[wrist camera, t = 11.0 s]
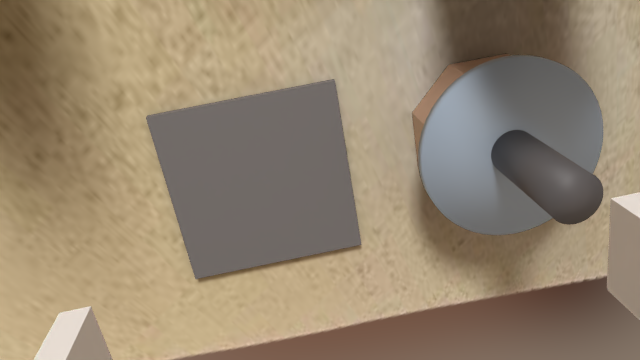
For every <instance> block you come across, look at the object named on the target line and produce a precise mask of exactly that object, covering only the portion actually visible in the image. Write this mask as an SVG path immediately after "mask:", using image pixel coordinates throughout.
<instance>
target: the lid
mask: <svg viewBox="0 0 640 360" xmlns="http://www.w3.org/2000/svg"><path fill="white" fill-rule="evenodd" d="M602 142H603V120H602V114H601V110H600V107H599V104H598V101H597V99H596V97H595V95H594V93H593V91H592V90H591V88H590V87H589V85H588V84H587V83H586V82H585V81H584V80H583V79H582V78H581V77H580V76H579V75H578V74H577V73H576V72H574V71H573V70H571V69H570V68H568V67H566V66H564V65H562V64H560V63H558V62H555V61H552V60H549V59H546V58H542V57H538V56H532V55H511V56H504V57H500V58H496V59H492V60H490V61H487V62H485V63H482V64H480V65H478V66H476V67H474V68H472V69H471V70H469V71H467V72H466V73H464V74H463V75H462V76H460V77H459V78H457V79H456V80H455V81H454V82H453V83H452V84H451V85H450V86H449V87H448V88H447V89H446V90H445V91H444V92H443V93H442V95H441V96H440V97H439V98H438V100H437V101H436V103H435V104H434V106H433V107H432V109H431V111H430V113H429V115H428V116H427V118H426V121H425V123H424V126H423V129H422V132H421V136H420V141H419V148H418V166H419V172H420V177H421V180H422V183H423V186H424V188H425V190H426V192H427V194H428V196H429V197H430V198H431V200H432V201H433V203H434V204H435V205H436V207H437V208H438V209H439V210H440V212H441V213H442V214H443V215H444V216H445V217H447V218H448V219H449V220H450V221H452V222H453V223H455V224H456V225H458V226H460V227H462V228H464V229H467V230H469V231H472V232H476V233H480V234H487V235H507V234H514V233H519V232H522V231H526V230H529V229H532V228H534V227H537V226H539V225H541V224H543V223H545V222H547V221H549V220H550V219H552V218H554V219H555V220H556V221H558V222H560V223H563V224H576V223H580V222H582V221H584V220H586V219H588V218H589V217H590V216H592V215H593V214H594V213H595V211H596V210H597V209H598V207H599V206H600V204H601V201H602V198H603V186H602V184H601V182H600V180H599V179H598V178H597V177H596V176H594V175H593V172H594V170H595V168H596V165H597V162H598V159H599V157H600V152H601V148H602Z"/></svg>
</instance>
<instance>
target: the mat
mask: <svg viewBox="0 0 640 360" xmlns="http://www.w3.org/2000/svg"><path fill="white" fill-rule="evenodd" d="M146 119H147V123H148V126H149V129H150V132H151V136H152V139H153V142H154V145H155V149H156V152H157V155H158V158H159V162H160V165H161V168H162V171H163V175H164V178H165V181H166V184H167V188H168V191H169V194H170V197H171V201H172V204H173V207H174V210H175V214H176V217H177V220H178V223H179V227H180V230H181V233H182V236H183V240H184V243H185V246H186V249H187V253H188V256H189V259H190V262H191V266H192V269H193V272H194V275H195V279H198V278H203V277H208V276H213V275H217V274H222V273H227V272H232V271H237V270H242V269H246V268H251V267H256V266H261V265H266V264H270V263H275V262H280V261H285V260H290V259H295V258H299V257H304V256H309V255H314V254H319V253H324V252H328V251H333V250H338V249H343V248H348V247H353V246H357V245H361V239H360V233H359V227H358V221H357V215H356V208H355V202H354V196H353V190H352V184H351V177H350V171H349V165H348V159H347V153H346V147H345V140H344V134H343V128H342V122H341V116H340V109H339V103H338V97H337V91H336V85H335V80H334V79H332V80H327V81H322V82H317V83H312V84H307V85H302V86H296V87H291V88H286V89H281V90H276V91H271V92H266V93H261V94H256V95H250V96H245V97H240V98H235V99H230V100H225V101H220V102H215V103H209V104H204V105H199V106H194V107H189V108H184V109H179V110H174V111H169V112H163V113H158V114H153V115H148V116H147V117H146Z"/></svg>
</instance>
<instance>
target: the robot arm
mask: <svg viewBox="0 0 640 360" xmlns="http://www.w3.org/2000/svg"><path fill="white" fill-rule="evenodd" d="M607 290H608V291H609V292H610V293H611V294H612V295H613V296H615V297H616V298H617V299H618V300H619V301H620V302H621V303H622V304H623V305H624V306H625V307H626V308H627V309H628V310H629V311H630V312H632V314H634V315H635V316H636V317H637V318H638V319H639V320H640V192H639V193H635V194H630V195H625V196H620V197H615V198H611V203H610V227H609V250H608V273H607ZM34 360H113V359H112V357H111V354H110V352H109V350H108V347H107V345H106V342H105V340H104V337H103V335H102V332H101V330H100V327H99V325H98V322H97V320H96V318H95V315H94V313H93V310H92V308H91V306H90V307H85V308H80V309H75V310H71V311H66V312H61V313H59V314H58V316H57V318H56V320H55V322H54V324H53V325H52V327H51V329H50V331H49V333H48V334H47V336H46V338H45V340H44V342H43V344H42V345H41V347H40V349H39V351H38V353H37V354H36V356H35V358H34Z"/></svg>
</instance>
